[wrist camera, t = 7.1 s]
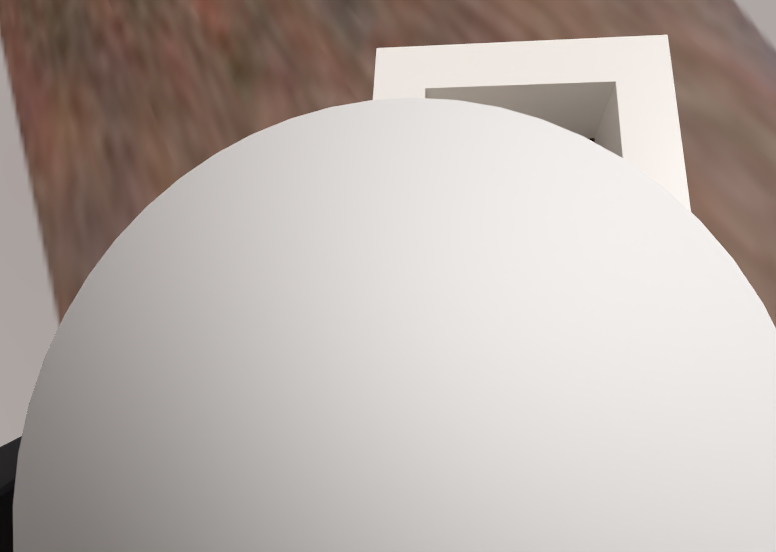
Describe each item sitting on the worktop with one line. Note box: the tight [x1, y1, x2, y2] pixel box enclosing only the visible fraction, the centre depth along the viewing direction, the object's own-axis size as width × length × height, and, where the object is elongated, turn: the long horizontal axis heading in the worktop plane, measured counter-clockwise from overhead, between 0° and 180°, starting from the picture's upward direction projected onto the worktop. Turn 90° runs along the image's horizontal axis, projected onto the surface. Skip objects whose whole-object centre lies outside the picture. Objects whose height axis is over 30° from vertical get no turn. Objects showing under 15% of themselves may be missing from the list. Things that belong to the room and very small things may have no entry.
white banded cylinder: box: [13, 98, 776, 552], centre depth 10 cm, size 5×5×14 cm
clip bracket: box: [373, 35, 691, 212], centre depth 18 cm, size 8×9×3 cm
